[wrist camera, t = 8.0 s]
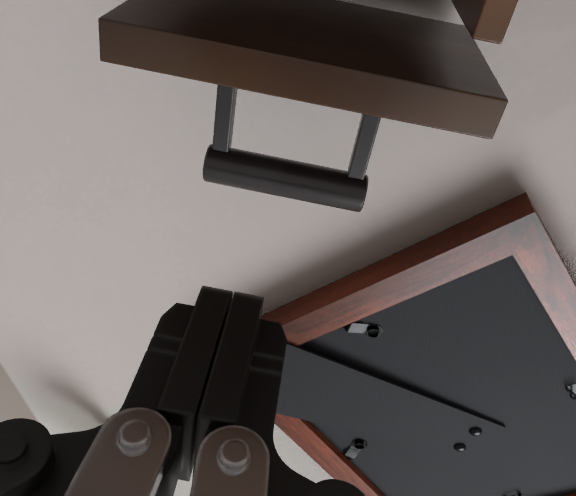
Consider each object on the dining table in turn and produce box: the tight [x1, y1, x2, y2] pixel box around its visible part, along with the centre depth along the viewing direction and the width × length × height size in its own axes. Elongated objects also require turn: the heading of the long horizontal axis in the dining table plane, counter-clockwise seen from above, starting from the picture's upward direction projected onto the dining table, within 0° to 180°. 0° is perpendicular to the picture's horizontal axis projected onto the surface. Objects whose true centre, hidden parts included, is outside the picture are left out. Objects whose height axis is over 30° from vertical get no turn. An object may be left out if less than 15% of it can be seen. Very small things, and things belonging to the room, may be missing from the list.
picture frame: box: [260, 193, 576, 496], centre depth 35 cm, size 20×2×25 cm
